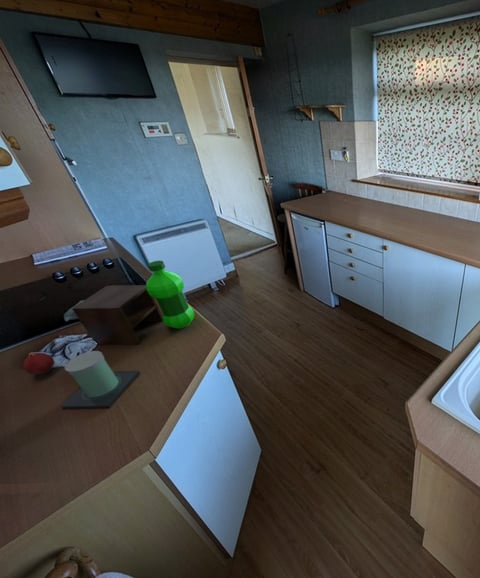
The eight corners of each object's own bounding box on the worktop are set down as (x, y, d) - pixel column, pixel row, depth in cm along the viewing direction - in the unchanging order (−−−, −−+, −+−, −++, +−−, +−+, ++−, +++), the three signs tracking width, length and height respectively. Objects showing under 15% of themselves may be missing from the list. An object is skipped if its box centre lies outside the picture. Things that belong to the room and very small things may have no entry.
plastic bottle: (159, 333, 103) (128, 270, 90) (176, 315, 112) (150, 256, 99) (188, 333, 103) (161, 270, 91) (203, 315, 112) (180, 256, 100)
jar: (77, 398, 78) (56, 371, 73) (99, 377, 85) (81, 351, 79) (106, 397, 79) (86, 371, 73) (125, 376, 85) (109, 350, 80)
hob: (62, 409, 77) (60, 406, 76) (98, 374, 87) (97, 371, 87) (109, 407, 77) (107, 405, 77) (140, 373, 88) (138, 370, 87)
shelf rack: (96, 345, 98) (71, 308, 90) (126, 319, 110) (106, 285, 102) (138, 344, 98) (118, 307, 91) (164, 319, 110) (148, 285, 102)
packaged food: (111, 304, 118) (105, 294, 116) (92, 322, 108) (85, 311, 106) (87, 306, 117) (80, 296, 114) (65, 325, 107) (58, 314, 104)
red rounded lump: (27, 377, 86) (9, 357, 82) (51, 363, 90) (36, 344, 86) (40, 382, 84) (23, 362, 80) (64, 368, 89) (49, 348, 85)
